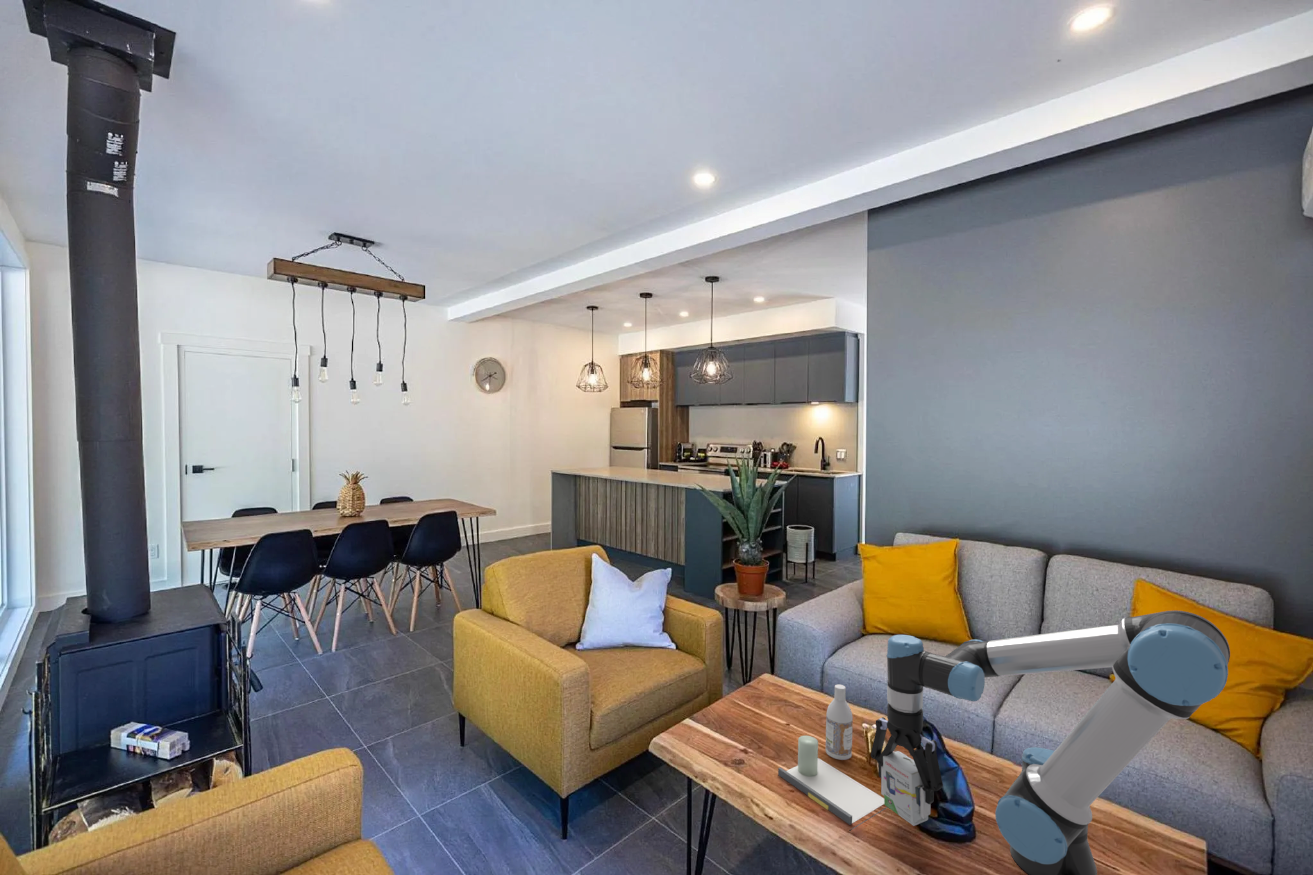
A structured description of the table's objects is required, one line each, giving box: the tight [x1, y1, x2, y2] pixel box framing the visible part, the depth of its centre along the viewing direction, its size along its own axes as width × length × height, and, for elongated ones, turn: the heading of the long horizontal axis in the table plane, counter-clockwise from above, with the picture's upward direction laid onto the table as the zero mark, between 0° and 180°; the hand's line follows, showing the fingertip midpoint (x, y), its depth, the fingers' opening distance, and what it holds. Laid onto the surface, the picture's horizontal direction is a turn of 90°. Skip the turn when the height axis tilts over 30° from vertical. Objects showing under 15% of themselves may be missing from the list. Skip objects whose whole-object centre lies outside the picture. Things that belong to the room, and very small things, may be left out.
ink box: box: [883, 750, 929, 827], centre depth 131 cm, size 9×5×12 cm, turn 25°
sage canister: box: [797, 735, 819, 777], centre depth 150 cm, size 5×5×8 cm
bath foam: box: [825, 684, 854, 761], centre depth 159 cm, size 7×7×20 cm
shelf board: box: [777, 757, 889, 832], centre depth 143 cm, size 22×15×3 cm
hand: (905, 803), depth 131 cm, fingers closed on ink box, 9 cm apart
